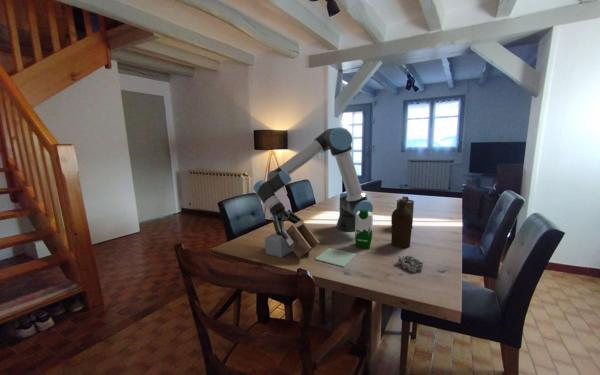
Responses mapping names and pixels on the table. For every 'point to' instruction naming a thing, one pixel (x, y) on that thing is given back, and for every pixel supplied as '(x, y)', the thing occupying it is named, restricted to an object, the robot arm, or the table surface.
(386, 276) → the table surface
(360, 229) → the milk carton
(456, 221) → the table surface
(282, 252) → the blue-grey rectangular block
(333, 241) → the table surface
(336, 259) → the mat
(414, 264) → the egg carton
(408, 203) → the canister
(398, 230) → the olive oil
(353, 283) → the table surface
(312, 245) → the grooved wooden block
